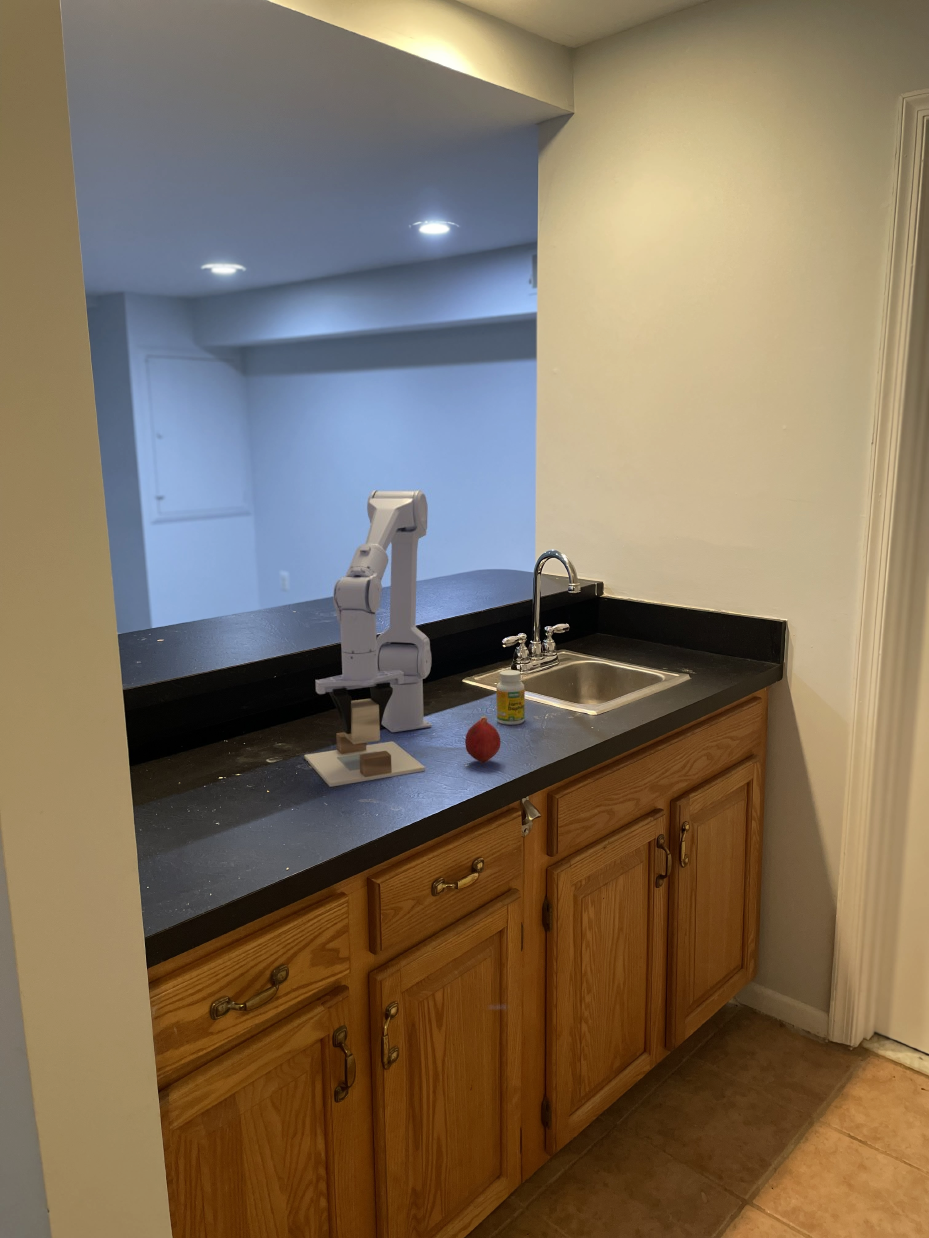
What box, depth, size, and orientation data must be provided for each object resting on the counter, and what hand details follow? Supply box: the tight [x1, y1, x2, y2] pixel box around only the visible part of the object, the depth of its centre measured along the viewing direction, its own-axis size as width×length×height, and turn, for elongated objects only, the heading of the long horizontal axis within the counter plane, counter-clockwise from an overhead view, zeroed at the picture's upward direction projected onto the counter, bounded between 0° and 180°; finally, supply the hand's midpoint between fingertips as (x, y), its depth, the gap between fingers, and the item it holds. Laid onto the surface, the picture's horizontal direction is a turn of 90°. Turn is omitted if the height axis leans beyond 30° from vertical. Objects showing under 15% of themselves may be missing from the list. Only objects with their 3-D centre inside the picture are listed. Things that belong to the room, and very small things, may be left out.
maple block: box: [345, 698, 381, 744], centre depth 154 cm, size 4×4×6 cm
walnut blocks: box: [335, 731, 392, 777], centre depth 156 cm, size 15×4×3 cm, turn 25°
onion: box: [464, 716, 502, 764], centre depth 155 cm, size 6×6×8 cm
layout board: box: [304, 740, 426, 788], centre depth 156 cm, size 15×16×1 cm
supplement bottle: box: [496, 669, 526, 726], centre depth 178 cm, size 5×5×10 cm
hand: (362, 730), depth 155 cm, fingers closed on maple block, 4 cm apart
